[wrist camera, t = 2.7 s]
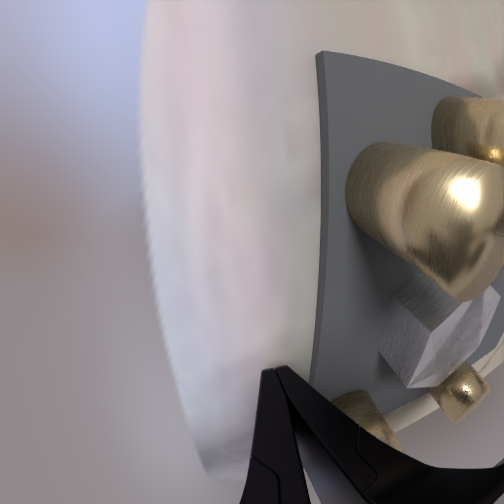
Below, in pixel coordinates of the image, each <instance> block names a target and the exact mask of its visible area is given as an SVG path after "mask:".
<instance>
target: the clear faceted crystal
mask: <svg viewBox="0 0 504 504" xmlns="http://www.w3.org/2000/svg"><path fill="white" fill-rule="evenodd" d="M500 297H501V296H500V295H499V294H498V293H497V292H496V291H495V290H494V289H493V288H492V287H491V286H489V287H488V288H487V289H486V290H485V291H484V292H483V293H482V294H481V295H479V296H478V297H477V298H475V299H473V300H471V301H468V302H460V301H457V300H456V299H455V298H453V297H452V296H451V295H450V294H448V293H447V292H446V291H445V290H443V289H442V288H441V287H440V286H438V285H437V284H436V283H434V282H433V281H432V280H430V279H429V278H428V277H426V276H425V275H424V274H422V273H421V272H420V273H419V274H418V275H417V276H416V277H415V278H413V279H412V280H411V281H410V282H409V283H408V284H406V285H405V286H404V287H403V288H402V289H400V290H399V291H398V292H397V293H396V294H394V295H393V297H392V301H391V306H390V310H389V314H388V318H387V322H386V325H385V329H384V333H383V336H382V340H381V343H380V347H379V350H378V351H379V352H380V353H381V354H382V356H383V357H384V358H385V360H386V361H387V362H388V364H389V365H390V366H391V368H392V369H393V370H394V371H395V373H396V374H397V375H398V377H399V378H400V379H401V381H402V382H403V383H404V385H405V386H406V387H407V388H420V387H437V386H438V385H439V384H440V383H441V382H443V381H444V380H445V379H446V378H447V377H448V376H449V375H450V374H452V373H453V372H454V371H455V370H456V369H457V368H458V367H459V366H460V365H461V364H462V363H463V362H464V361H465V360H466V359H467V358H468V357H469V356H470V355H471V354H472V353H473V352H474V351H475V350H476V349H477V348H478V347H479V345H480V343H481V341H482V339H483V337H484V335H485V333H486V331H487V328H488V326H489V324H490V322H491V319H492V317H493V315H494V312H495V310H496V307H497V305H498V302H499V300H500Z"/></svg>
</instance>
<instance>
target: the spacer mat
mask: <svg viewBox="0 0 504 504" xmlns="http://www.w3.org/2000/svg"><path fill="white" fill-rule="evenodd" d="M316 66H317V78H318V92H319V109H320V131H321V177H322V195H321V242H320V265H319V283H318V298H317V311H316V323H315V334H314V344H313V354H312V363H311V371H310V379H309V385H311V386H312V387H313V388H314V389H315V390H317V391H318V392H319V393H320V394H321V395H323V396H324V397H325V398H326V399H327V400H329V401H330V402H331V401H333V400H334V399H336V398H337V397H339V396H341V395H343V394H346V393H348V392H351V391H355V390H365V391H367V392H368V393H369V394H370V396H371V398H372V399H373V401H374V402H375V404H376V406H377V407H378V409H379V410H380V412H381V414H382V415H383V414H385V413H388V412H390V411H392V410H394V409H396V408H398V407H400V406H402V405H404V404H406V403H408V402H410V401H412V400H414V399H416V398H418V397H420V396H422V395H424V394H425V393H427V392H428V391H427V389H426V388H425V387H420V388H407V387H406V386H405V385H404V383H403V382H402V381H401V379H400V378H399V377H398V375H397V374H396V373H395V371H394V370H393V369H392V368H391V366H390V365H389V364H388V362H387V361H386V360H385V358H384V357H383V356H382V354H381V353H380V352H379V351H378V350H379V347H380V343H381V340H382V336H383V333H384V329H385V325H386V322H387V318H388V314H389V310H390V306H391V301H392V297H393V295H394V294H396V293H397V292H398V291H399V290H400V289H402V288H403V287H404V286H405V285H406V284H408V283H409V282H410V281H411V280H412V279H413V278H415V277H416V276H417V275H418V274H419V273H420V271H418V270H417V269H416V268H414V267H413V266H412V265H410V264H409V263H408V262H406V261H405V260H403V259H402V258H401V257H399V256H398V255H396V254H395V253H394V252H392V251H391V250H389V249H388V248H386V247H385V246H383V245H382V244H381V243H379V242H378V241H376V240H375V239H373V238H372V237H370V236H369V235H367V234H366V233H364V232H363V231H361V230H360V229H359V228H358V227H357V226H356V225H355V224H354V223H353V221H352V220H351V218H350V216H349V213H348V211H347V207H346V202H345V184H346V179H347V176H348V172H349V170H350V167H351V165H352V163H353V162H354V160H355V159H356V157H357V156H358V155H359V154H360V153H361V152H362V150H364V149H365V148H366V147H368V146H369V145H371V144H373V143H376V142H380V141H391V142H398V143H404V144H410V145H416V146H422V147H427V148H432V149H433V146H432V140H431V122H432V116H433V113H434V110H435V107H436V106H437V104H438V103H439V101H440V100H441V99H443V98H445V97H448V96H455V97H475V98H483V97H481V96H479V95H476V94H474V93H472V92H470V91H468V90H465V89H463V88H461V87H458V86H456V85H453V84H451V83H448V82H446V81H443V80H441V79H438V78H435V77H432V76H429V75H427V74H424V73H421V72H417V71H414V70H411V69H408V68H404V67H401V66H397V65H393V64H390V63H386V62H382V61H377V60H373V59H369V58H364V57H359V56H354V55H348V54H342V53H336V52H329V51H322V52H320V53H318V54H316ZM490 286H491V287H492V288H493V289H494V290H495V291H496V292H497V293H498V294H499V295H500V296H501V297H500V300H499V302H498V305H497V307H496V310H495V312H494V315H493V317H492V319H491V322H490V324H489V326H488V328H487V331H486V333H485V335H484V337H483V339H482V341H481V343H480V345H479V347H478V348H477V349H476V350H475V351H474V352H473V353H472V354H471V355H470V356H469V357H468V358H467V359H466V361H467V362H468V363H469V364H470V365H472V364H474V363H475V362H476V361H478V360H479V359H481V358H482V357H483V356H485V355H486V354H487V353H489V352H490V351H491V350H493V349H494V348H495V347H496V346H497V344H498V342H499V340H500V338H501V336H502V334H503V332H504V265H503V267H502V269H501V270H500V272H499V274H498V275H497V277H496V278H495V280H494V281H493V282H492V284H491V285H490Z"/></svg>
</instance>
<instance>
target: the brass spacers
mask: <svg viewBox="0 0 504 504" xmlns="http://www.w3.org/2000/svg"><path fill="white" fill-rule="evenodd" d="M431 140H432V146H433V149H432V148H427V147H422V146H416V145H410V144H404V143H398V142H391V141H380V142H376V143H373V144H371V145H369V146H368V147H366V148H365V149H364V150H362V152H361V153H360V154H359V155H358V156H357V157H356V159H355V160H354V162H353V163H352V165H351V167H350V170H349V172H348V176H347V179H346V184H345V202H346V207H347V211H348V213H349V216H350V218H351V220H352V221H353V223H354V224H355V225H356V226H357V227H358V228H359V229H360V230H361V231H363V232H364V233H366V234H367V235H369V236H370V237H372V238H373V239H375V240H376V241H378V242H379V243H381V244H382V245H383V246H385V247H386V248H388V249H389V250H391V251H392V252H394V253H395V254H396V255H398V256H399V257H401V258H402V259H403V260H405V261H406V262H408V263H409V264H410V265H412V266H413V267H414V268H416V269H417V270H418V271H420V272H421V273H422V274H424V275H425V276H426V277H428V278H429V279H430V280H432V281H433V282H434V283H436V284H437V285H438V286H440V287H441V288H442V289H443V290H445V291H446V292H447V293H448V294H450V295H451V296H452V297H453V298H455V299H456V300H457V301H460V302H468V301H471V300H473V299H475V298H477V297H478V296H479V295H481V294H482V293H483V292H484V291H485V290H486V289H487V288H488V287H489V286H490V285H491V284H492V282H493V281H494V280H495V278H496V277H497V275H498V274H499V272H500V270H501V269H502V267H503V265H504V100H497V99H488V98H475V97H455V96H448V97H445V98H443V99H441V100H440V101H439V103H438V104H437V106H436V107H435V110H434V113H433V116H432V122H431ZM425 388H426V389H427V391H428V392H429V393H430V394H431V396H432V397H433V398H434V400H435V401H436V402H437V404H438V405H439V406H440V407H441V409H442V410H443V411H444V413H445V414H446V415H447V417H448V418H449V419H450V421H451V422H452V423H453V425H454V426H456V425H458V424H459V423H461V422H462V421H464V420H465V419H466V418H467V417H468V416H470V414H472V413H473V411H475V410H476V409H477V408H478V407H479V406H480V404H481V403H482V402H483V401H484V400H485V399H486V397H487V396H488V394H489V393H490V391H491V389H492V388H491V387H490V386H489V385H488V383H487V382H486V381H485V380H484V379H483V378H482V377H481V376H480V375H479V374H478V372H477V371H476V370H475V369H474V368H473V367H472V366H471V365H470V364H469V363H468V362H467V361H466V360H465V361H464V362H463V363H462V364H461V365H460V366H459V367H458V368H457V369H456V370H455V371H454V372H453V373H452V374H450V375H449V376H448V377H447V378H446V379H445V380H444V381H443V382H441V383H440V384H439V385H438V386H437V387H425ZM331 403H332V404H334V405H335V406H336V407H337V408H339V409H340V410H341V411H342V412H344V413H345V414H346V415H347V416H349V417H350V418H351V419H352V420H354V421H355V422H356V423H358V424H359V425H360V426H362V427H363V428H364V429H366V430H367V431H368V432H369V433H371V434H372V435H374V436H375V437H377V438H378V439H379V440H381V441H383V442H384V443H386V444H388V445H389V446H391V447H393V448H395V449H397V450H398V451H400V452H402V453H403V452H404V449H403V447H402V446H401V444H400V443H399V441H398V439H397V438H396V436H395V434H394V433H393V431H392V430H391V428H390V426H389V425H388V423H387V422H386V420H385V418H384V417H383V415H382V414H381V412H380V410H379V409H378V407H377V406H376V404H375V402H374V401H373V399H372V398H371V396H370V394H369V393H368V392H367V391H365V390H355V391H351V392H348V393H346V394H343V395H341V396H339V397H337V398H336V399H334V400H333V401H331ZM360 426H359V427H360Z"/></svg>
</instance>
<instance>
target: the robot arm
mask: <svg viewBox="0 0 504 504" xmlns="http://www.w3.org/2000/svg"><path fill="white" fill-rule="evenodd" d="M359 426H360V425H359V424H358V423H356V422H355V421H354V420H352V419H351V418H350V417H349V416H347V415H346V414H345V413H344V412H342V411H341V410H340V409H339V408H337V407H336V406H335V405H334V404H332V403H331V402H330V401H329V400H327V399H326V398H325V397H324V396H323V395H321V394H320V393H319V392H318V391H317V390H315V389H314V388H313V387H312V386H311V385H309V384H308V383H307V382H306V381H305V380H303V379H302V378H301V377H300V376H299V375H298V374H296V373H295V372H294V371H293V370H292V369H291V368H290V367H288V366H286V365H284V366H279V367H276V368H275V369H274V368H270V369H265V370H262V372H261V379H260V388H259V396H258V404H257V411H256V419H255V427H254V434H253V442H252V449H251V458H250V462H249V469H248V474H247V479H246V484H245V487H244V491H243V495H242V498H241V501H240V504H311V502H310V498H309V494H308V489H307V485H306V480H305V476H304V471H303V466H304V468H305V470H306V472H307V474H308V477H309V478H310V481H311V483H312V485H313V487H314V489H315V491H316V493H317V495H318V497H319V500H320V502H321V504H504V459H503V460H501V461H500V462H499V463H498V464H496V465H495V466H494V467H493V468H484V469H483V468H482V469H455V468H454V469H453V468H452V469H451V468H438V467H433V466H430V465H427V464H424V463H422V462H420V461H418V460H416V459H414V458H411V457H410V456H408V455H406V454H404V453H402V452H400V451H398V450H397V449H395V448H393V447H391V446H389V445H388V444H386V443H384V442H383V441H381V440H379V439H378V438H377V437H375V436H374V435H372V434H371V433H369V432H368V431H367V430H366V429H364V428H363V427H362V426H360V427H359ZM301 461H302V462H301ZM302 464H303V466H302Z"/></svg>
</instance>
